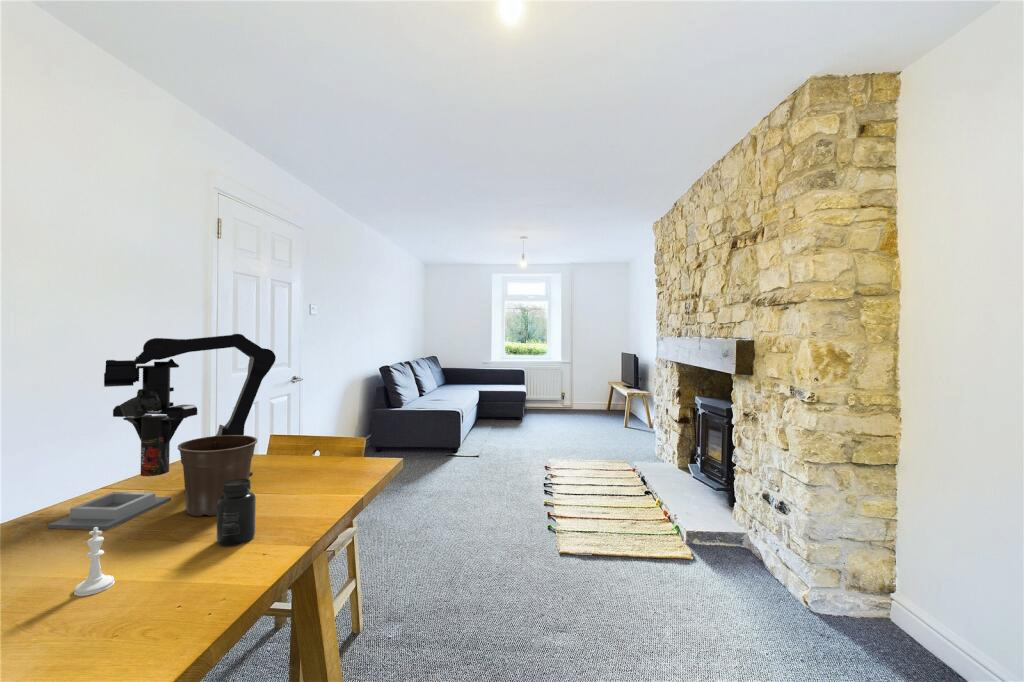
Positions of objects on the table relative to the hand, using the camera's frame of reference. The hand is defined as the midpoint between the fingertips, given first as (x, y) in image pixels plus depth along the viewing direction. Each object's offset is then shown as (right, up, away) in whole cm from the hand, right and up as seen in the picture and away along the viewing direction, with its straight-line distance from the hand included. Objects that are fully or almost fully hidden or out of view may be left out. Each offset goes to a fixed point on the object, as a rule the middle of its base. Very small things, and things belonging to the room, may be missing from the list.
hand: (155, 442), depth 116 cm
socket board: (+2, -13, -15) cm, 20 cm away
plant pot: (+23, -14, -10) cm, 29 cm away
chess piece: (+26, -14, -44) cm, 53 cm away
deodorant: (0, -8, 0) cm, 8 cm away
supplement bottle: (+38, -14, -26) cm, 48 cm away
